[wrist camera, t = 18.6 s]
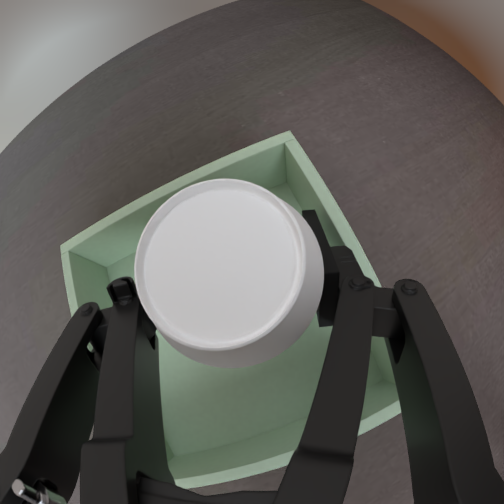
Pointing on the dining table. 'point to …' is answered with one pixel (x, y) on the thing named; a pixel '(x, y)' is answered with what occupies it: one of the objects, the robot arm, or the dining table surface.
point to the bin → (233, 379)
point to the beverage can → (229, 273)
